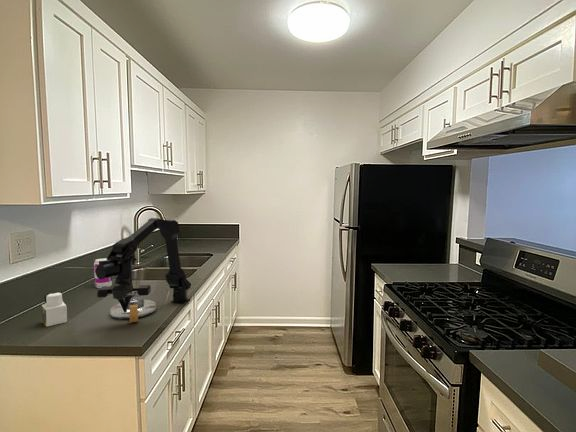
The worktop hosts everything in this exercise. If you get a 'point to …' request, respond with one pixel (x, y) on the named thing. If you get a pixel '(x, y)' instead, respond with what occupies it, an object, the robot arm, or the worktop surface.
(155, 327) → the worktop surface
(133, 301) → the cover
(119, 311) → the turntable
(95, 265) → the supplement can
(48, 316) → the medicine bottle
